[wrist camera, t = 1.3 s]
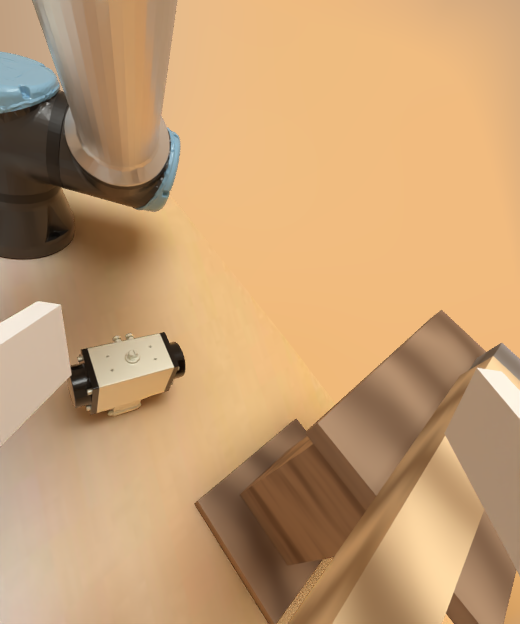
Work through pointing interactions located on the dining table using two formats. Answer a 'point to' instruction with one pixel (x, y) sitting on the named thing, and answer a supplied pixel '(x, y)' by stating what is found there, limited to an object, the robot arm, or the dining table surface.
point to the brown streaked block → (409, 530)
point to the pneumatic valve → (124, 373)
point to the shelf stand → (350, 482)
